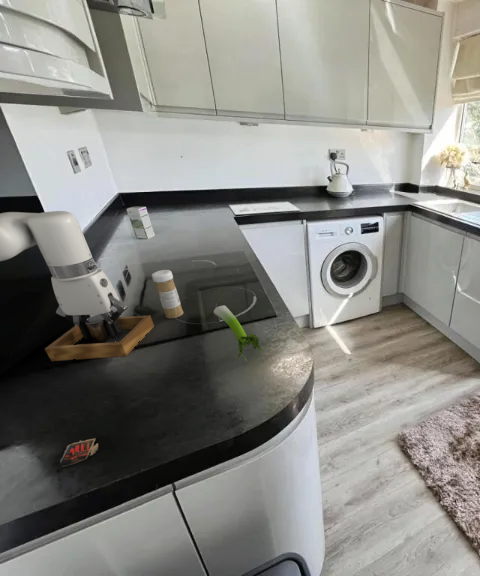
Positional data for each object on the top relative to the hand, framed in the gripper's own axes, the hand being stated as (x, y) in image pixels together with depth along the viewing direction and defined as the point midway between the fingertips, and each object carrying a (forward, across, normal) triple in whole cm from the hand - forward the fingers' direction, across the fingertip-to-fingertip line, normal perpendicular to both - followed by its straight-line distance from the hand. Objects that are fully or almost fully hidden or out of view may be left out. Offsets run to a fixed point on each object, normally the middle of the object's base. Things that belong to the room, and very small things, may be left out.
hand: (103, 334), depth 80 cm
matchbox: (+2, -15, +33) cm, 36 cm away
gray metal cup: (+2, 0, 0) cm, 2 cm away
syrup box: (+2, +35, -91) cm, 98 cm away
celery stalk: (+2, -31, +1) cm, 31 cm away
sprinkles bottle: (+2, -11, -12) cm, 16 cm away
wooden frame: (+2, 0, 0) cm, 2 cm away
